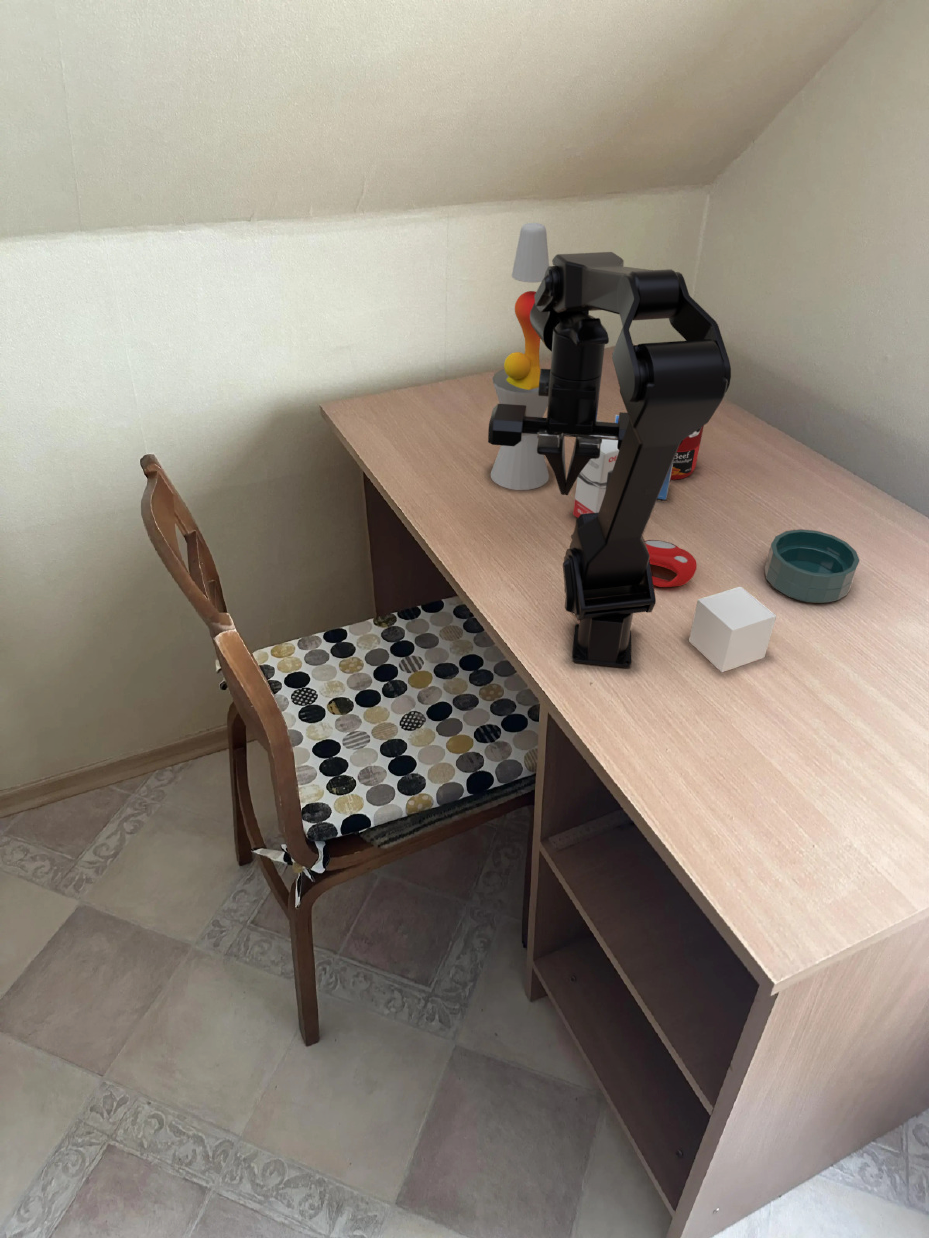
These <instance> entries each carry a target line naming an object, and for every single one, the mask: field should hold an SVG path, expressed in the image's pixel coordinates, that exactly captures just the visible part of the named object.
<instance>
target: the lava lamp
mask: <svg viewBox="0 0 929 1238" xmlns="http://www.w3.org/2000/svg"><path fill="white" fill-rule="evenodd" d="M519 230H520V231H519V236H518V241H517V247H516V252H515V257H514V262H513V267H512V272H511V278H512V279H514V280H515V281H518V282H522V283H532V284H533V283H541V282H542V280H543V278H544V276H545V273H546V270H547V268H548V267H549V266H550V260H549V248H548V247H549V246H548V234H547V228H546V226H545V225H544V224H542V223H538V222H527V223H524V224H523V225H521V228H520V229H519ZM536 292H537V291H535V290H529V291H526V292H523V293H522V294H520V295H519V296H518V297H517V298H516V301H515V304H514V313H515V314H514V315H515V317H516V319H517V321H518V323H519V325H520V327H521V331H522V334H523V337H524V353H523V352H521V351H514V352H512V353H510V354H509V355H507V357H506V358H505V359H504V364H503V369H499V370H498V371H496V373H494V374H493V376H492V384H493V387H494V390H495V394H496V396H497V399H498V404H512V405H526V409H527V410H526V416H528V417H542V418H544V416H545V413H546V412H547V409H548V397H546V396H539V395H538V390H539V379H540V370H541V369H542V368H541V364H540V362H541V361H540V348H541V339H540V337H539V336H538V334H537V333H536V331H535V330H534V329H533V327H532V325H531V322H530V311H531V310H532V307H533V305H534V303H535V297H534V295H535V293H536ZM537 435H538V434H527V433H522V440H521V442H519V443H518V444H517V445H515V446H501V445H500V447H499V450H498V453H497V455H496V458H495V461H494V462H493V463H494V464H493V466H492V469H491V472H490V479H491V480H492V481H493V482H494V483H495V484H496V485H499V486H500V487H501V488H506V489H508V490H513V491H514V490H515V491H530V490H534V489H538V488H540V487H542V486H545V484H546V483H547V482H548V481H549V479H550V474H549V470H548V466H547V462H546V457H545V455H540V454H538V453H537V445H538V440H539V438H537Z"/></svg>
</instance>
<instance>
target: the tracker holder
mask: <svg viewBox="0 0 929 1238" xmlns="http://www.w3.org/2000/svg"><path fill="white" fill-rule="evenodd" d="M644 541H645V544H646V547H647V549H648V552H649V555H650V558H649V561H650V565H652V566H656V567H662V568H665V569H668V570H671V571H672V572H674V573H675V574H676V576H675V577H674V578H673V579H672V580H667V579H665V578H662V577H657V576H654V575H652V580H653V586H656V587H659V588H669V587H670V588H672V587H681V586H683V585H686V584H687V583H688V582H690V581H691V580H692V579H693V577H694V576H695V574H696V571H697V565H698V564H697V560H696V558H695V557H694V555H692V554H691V553H690V552H689V551H688V550H686V549H684V548H681V547H679V546H677V544H674V543H672V542H668V541H665V540H657V539H646V540H644Z"/></svg>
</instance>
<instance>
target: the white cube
mask: <svg viewBox="0 0 929 1238" xmlns="http://www.w3.org/2000/svg"><path fill="white" fill-rule="evenodd" d="M776 620H777V615H776V614H775V613H774V612H772V611H771V610H770V609H769V608H768V607H766V606H765V605H764V604H763V603H762V602H761V601H759V600H758V599H757V598H756V597H754V596H753V595H752V594H751V593H750V592H749V591H748V590H746V589H745V588H744V587H742V586H737V587H733V588H731V589H727V590H724V591H720V592H718V593H715V594H711V595H708V596H705V597H701V598H698V599H697V602H696V606H695V610H694V614H693V620H692V624H691V629H690V633H689V639H688V642H689V643H690V645H692V646H693V647H694V648H695V649H696V650H697V651H698V652H700V654H702V655H703V656H704V657H705V658H706V659H707V660H708V661H709V662H710V663H711V664H712V665H713V666H714V667H715V668H717V669H718V671H720V673H725V672H728V671H730V670H734V669H736V668H739V667H742V666H745V665H748V664H751V663H753V662H756V661H760V660H763V659H765V656H766V655H767V650H768V647H769V644H770V639H771V636H772V633H773V630H774V626H775V622H776Z"/></svg>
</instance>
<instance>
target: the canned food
mask: <svg viewBox="0 0 929 1238" xmlns="http://www.w3.org/2000/svg"><path fill="white" fill-rule="evenodd" d="M704 427H705V425H704V426H702V427H701V428H700V429H698V430H697V431H695V432H694V433H692V434H691V435H689V436H688V437H686V438H685V439H684V440H682V441H681V442H680V445H679V447H678V449H677V452H676V454H675V457H674V461H673V466H672V472H671V477H670V481H671V480H672V481H675V480H682V479H685V478H688V477H689V476H691V475H692V474H693V472H694V471H695V469H696V466H697V462H698V457H699V452H700V447H701V443H702V437H703V431H704Z"/></svg>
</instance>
